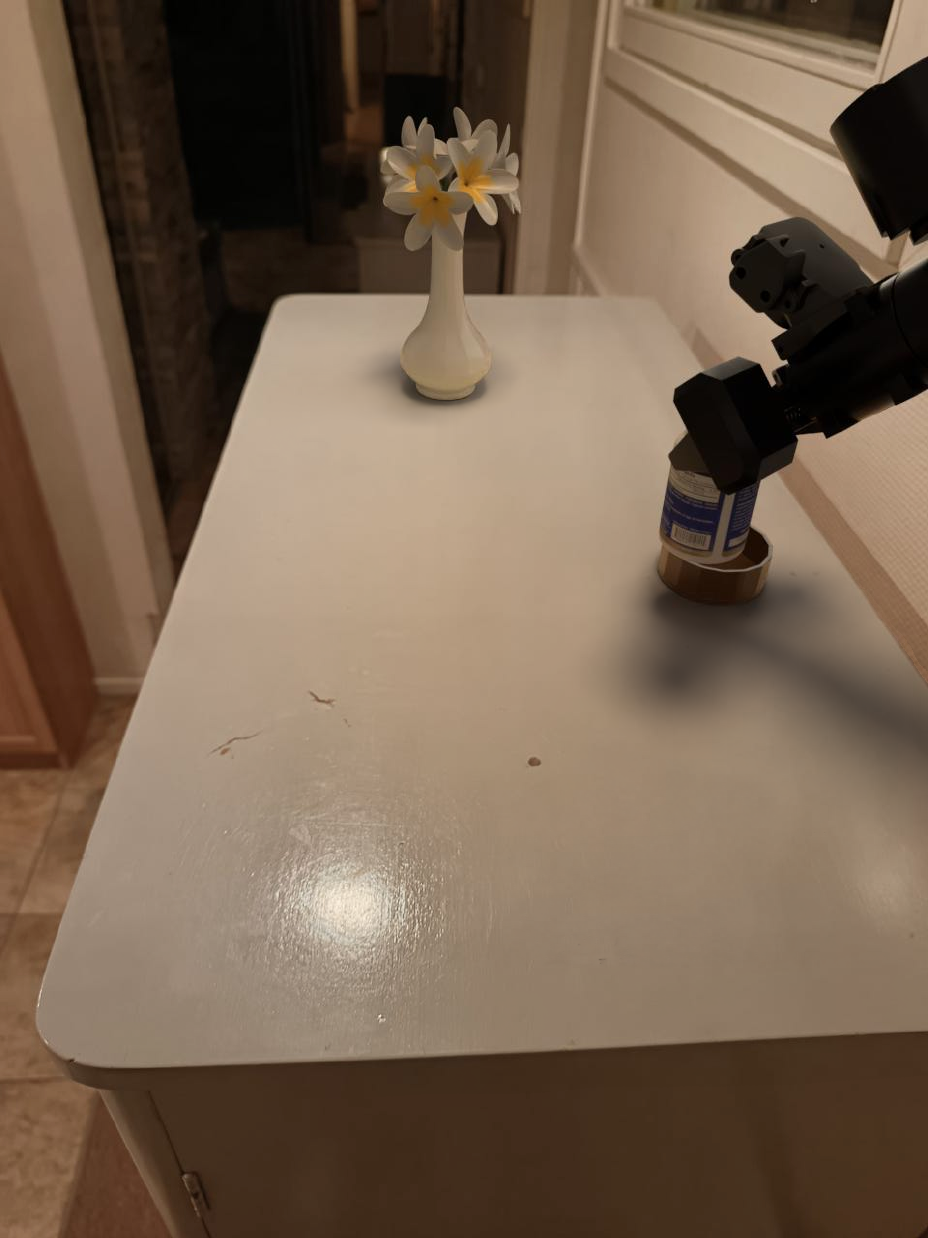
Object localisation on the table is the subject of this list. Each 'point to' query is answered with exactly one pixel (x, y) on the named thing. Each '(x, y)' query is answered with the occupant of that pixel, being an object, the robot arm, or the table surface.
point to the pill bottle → (704, 517)
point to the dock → (720, 573)
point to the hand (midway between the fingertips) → (701, 447)
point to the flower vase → (447, 242)
